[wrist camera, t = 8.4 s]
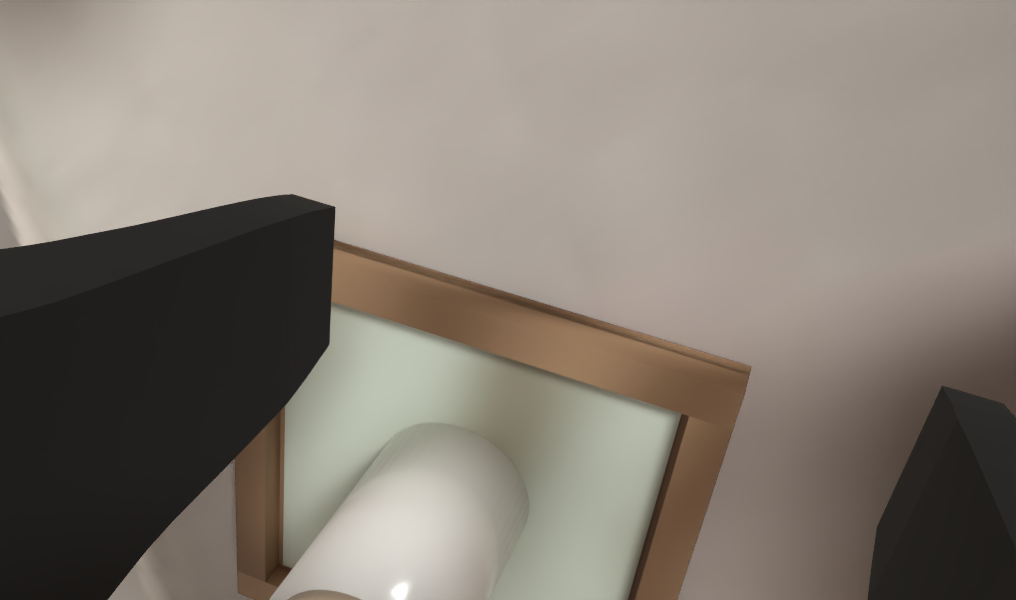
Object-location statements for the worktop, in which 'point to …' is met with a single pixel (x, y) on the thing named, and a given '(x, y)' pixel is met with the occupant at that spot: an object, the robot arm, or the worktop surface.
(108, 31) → the worktop surface
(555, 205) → the worktop surface
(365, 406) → the rest tray
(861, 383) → the worktop surface
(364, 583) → the salt cellar
